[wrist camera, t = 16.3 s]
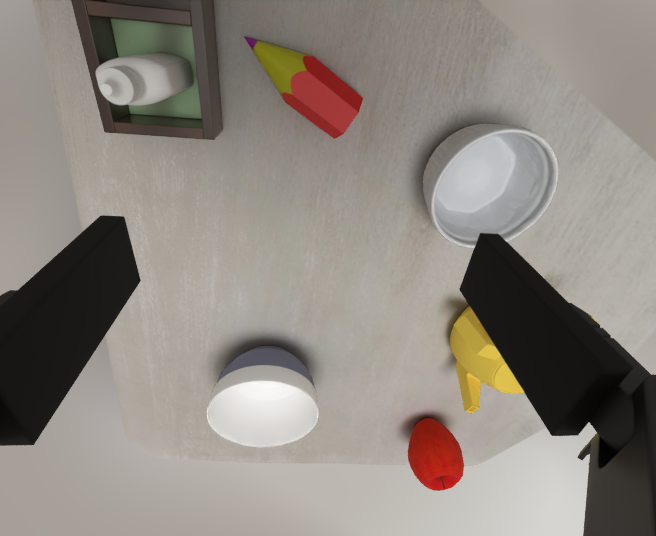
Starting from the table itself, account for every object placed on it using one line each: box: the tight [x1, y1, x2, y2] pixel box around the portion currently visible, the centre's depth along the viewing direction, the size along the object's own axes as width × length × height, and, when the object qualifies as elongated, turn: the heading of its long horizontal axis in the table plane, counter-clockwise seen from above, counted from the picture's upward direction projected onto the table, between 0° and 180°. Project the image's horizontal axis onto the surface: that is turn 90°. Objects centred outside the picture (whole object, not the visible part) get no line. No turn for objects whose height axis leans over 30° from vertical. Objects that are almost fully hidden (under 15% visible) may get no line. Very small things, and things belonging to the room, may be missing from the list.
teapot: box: [450, 306, 597, 414], centre depth 51 cm, size 17×17×12 cm
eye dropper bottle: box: [96, 53, 193, 106], centre depth 29 cm, size 4×6×12 cm
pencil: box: [244, 36, 363, 139], centre depth 34 cm, size 5×12×4 cm, turn 54°
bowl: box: [206, 346, 319, 447], centre depth 54 cm, size 16×16×10 cm
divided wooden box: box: [71, 0, 223, 140], centre depth 30 cm, size 10×19×5 cm, turn 175°
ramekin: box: [423, 124, 559, 248], centre depth 39 cm, size 13×13×7 cm
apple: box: [408, 418, 464, 491], centre depth 66 cm, size 10×10×12 cm
